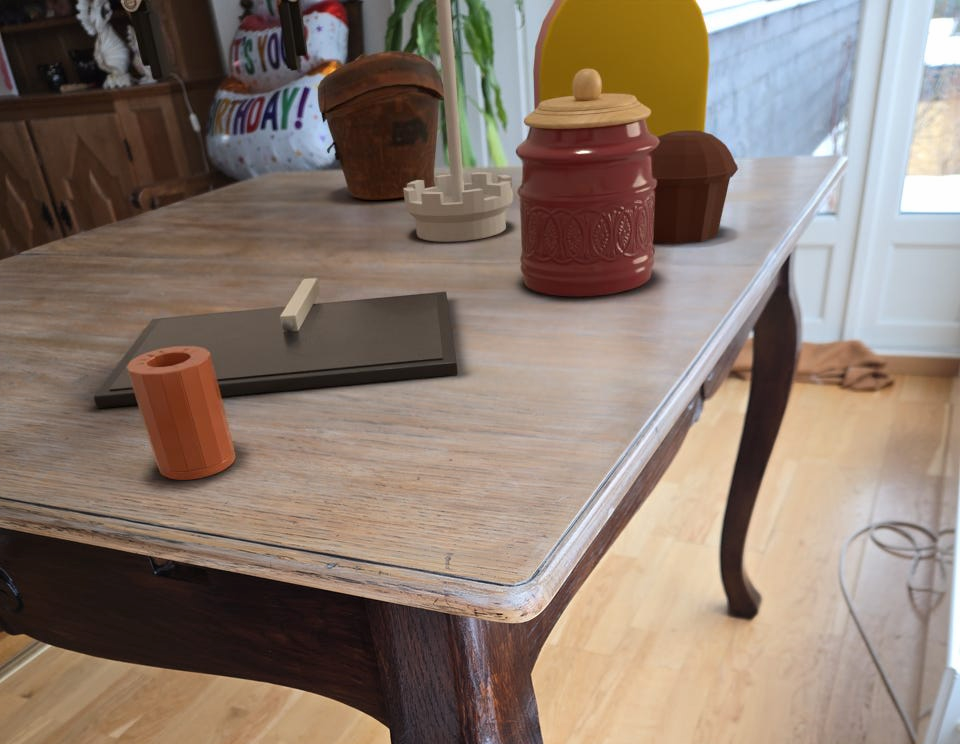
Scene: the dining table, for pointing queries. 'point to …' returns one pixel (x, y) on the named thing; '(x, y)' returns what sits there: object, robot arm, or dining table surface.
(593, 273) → the kitchen canister
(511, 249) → the dining table surface
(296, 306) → the stylus
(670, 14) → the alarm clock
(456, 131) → the flag stand
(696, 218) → the muffin
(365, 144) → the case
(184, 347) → the pen pot
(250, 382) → the tablet
